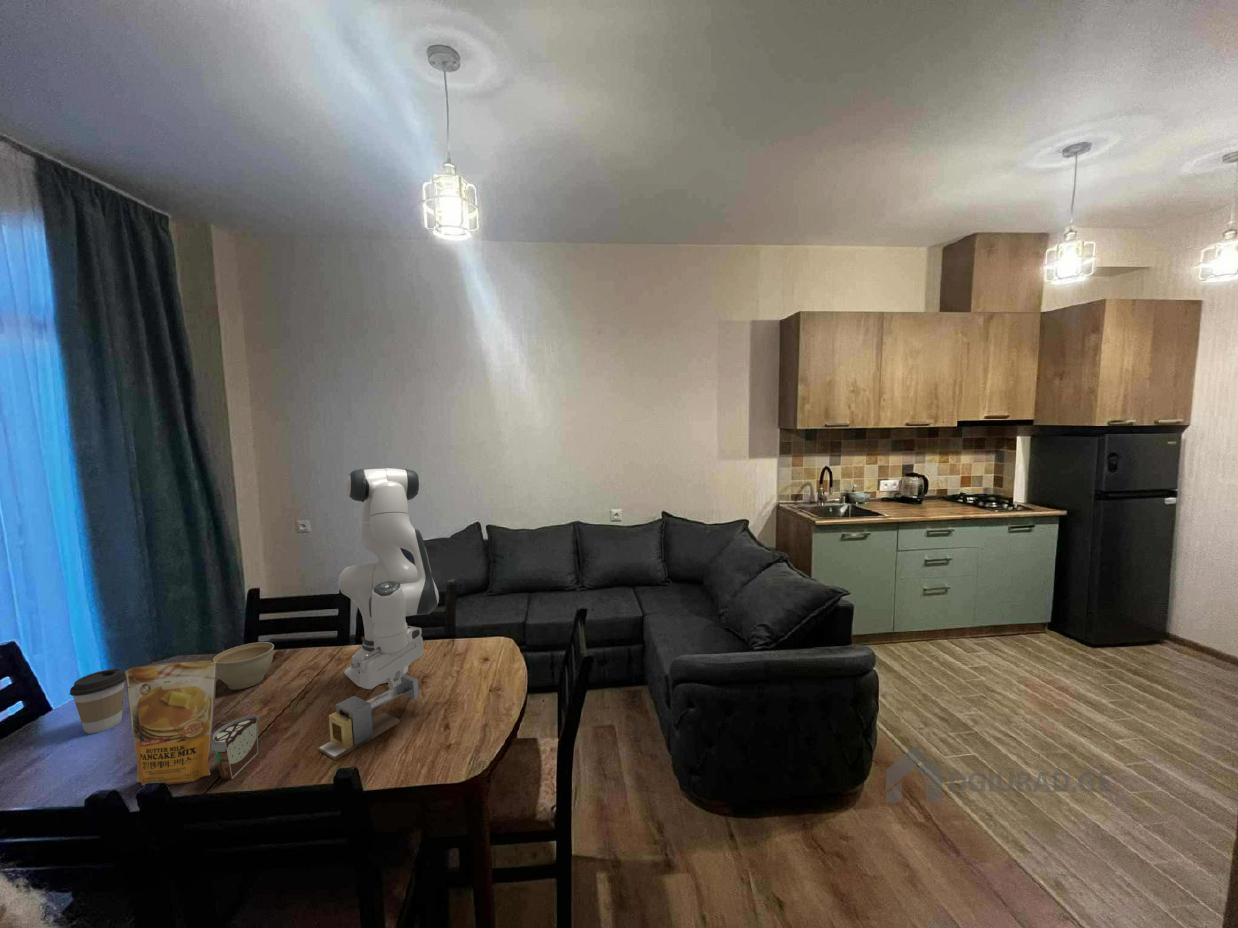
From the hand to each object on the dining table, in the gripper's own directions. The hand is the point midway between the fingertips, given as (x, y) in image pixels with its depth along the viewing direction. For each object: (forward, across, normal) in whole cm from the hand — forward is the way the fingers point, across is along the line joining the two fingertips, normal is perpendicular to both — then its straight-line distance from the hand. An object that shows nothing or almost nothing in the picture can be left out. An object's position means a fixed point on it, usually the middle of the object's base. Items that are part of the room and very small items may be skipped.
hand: (395, 686), depth 136 cm
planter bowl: (+12, +2, +67) cm, 68 cm away
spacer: (+5, -14, +5) cm, 16 cm away
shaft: (+6, -2, +3) cm, 7 cm away
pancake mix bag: (+10, -35, +35) cm, 50 cm away
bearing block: (+10, -10, +4) cm, 15 cm away
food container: (+10, -28, +25) cm, 39 cm away
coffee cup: (+11, -28, +82) cm, 88 cm away
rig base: (+10, -9, +4) cm, 14 cm away
